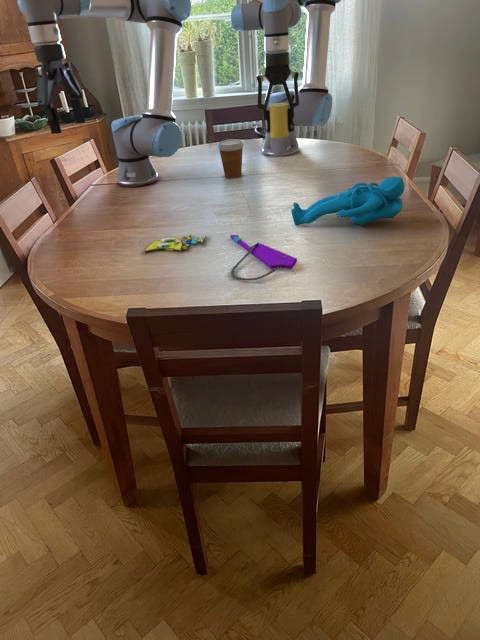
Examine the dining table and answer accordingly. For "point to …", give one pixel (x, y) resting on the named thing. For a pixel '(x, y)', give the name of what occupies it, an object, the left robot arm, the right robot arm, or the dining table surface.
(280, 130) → the can
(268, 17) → the right robot arm
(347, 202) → the toy
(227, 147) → the disposable coffee cup
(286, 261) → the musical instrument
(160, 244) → the toy
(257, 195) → the dining table surface
